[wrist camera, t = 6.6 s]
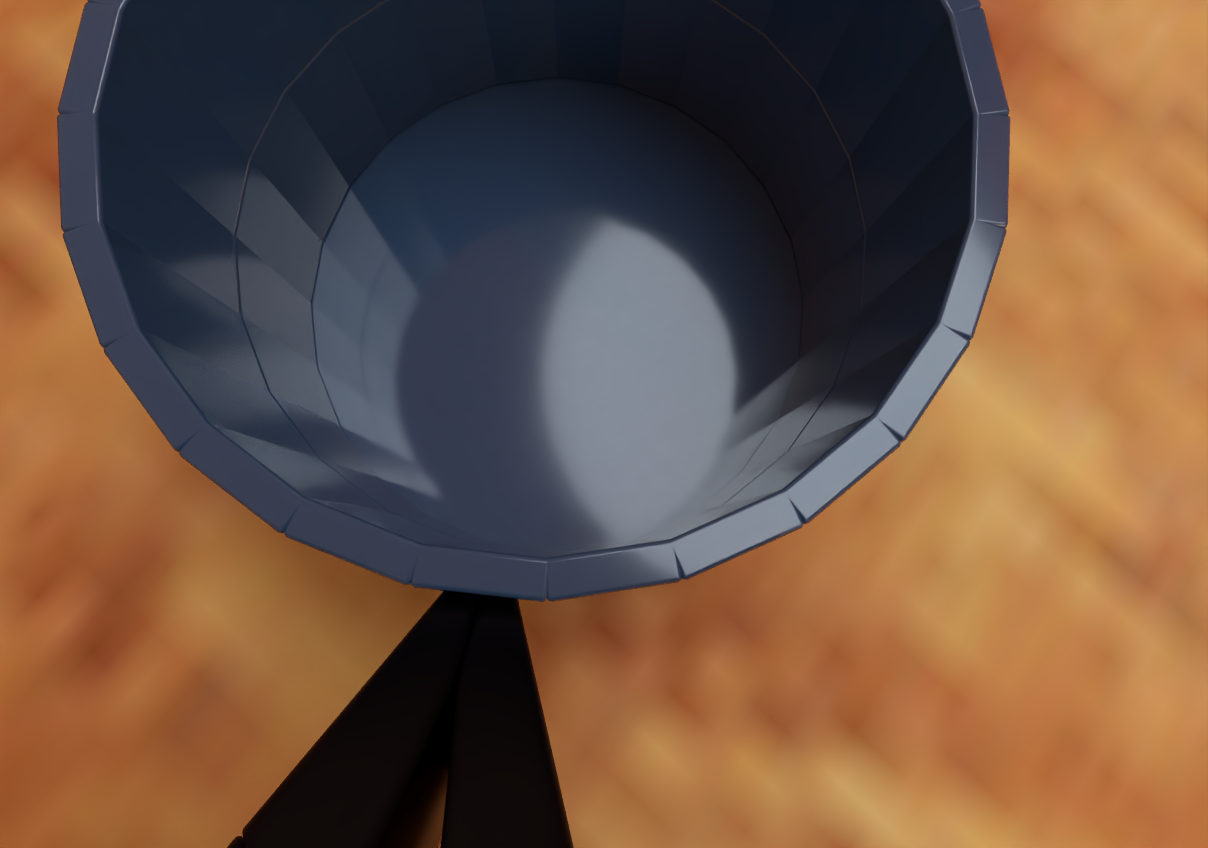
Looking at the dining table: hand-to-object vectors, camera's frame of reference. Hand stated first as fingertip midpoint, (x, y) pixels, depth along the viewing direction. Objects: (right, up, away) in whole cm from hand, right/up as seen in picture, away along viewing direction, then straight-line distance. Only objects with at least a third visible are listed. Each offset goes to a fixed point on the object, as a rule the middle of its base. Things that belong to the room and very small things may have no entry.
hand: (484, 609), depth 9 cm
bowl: (+1, +5, +8) cm, 10 cm away
